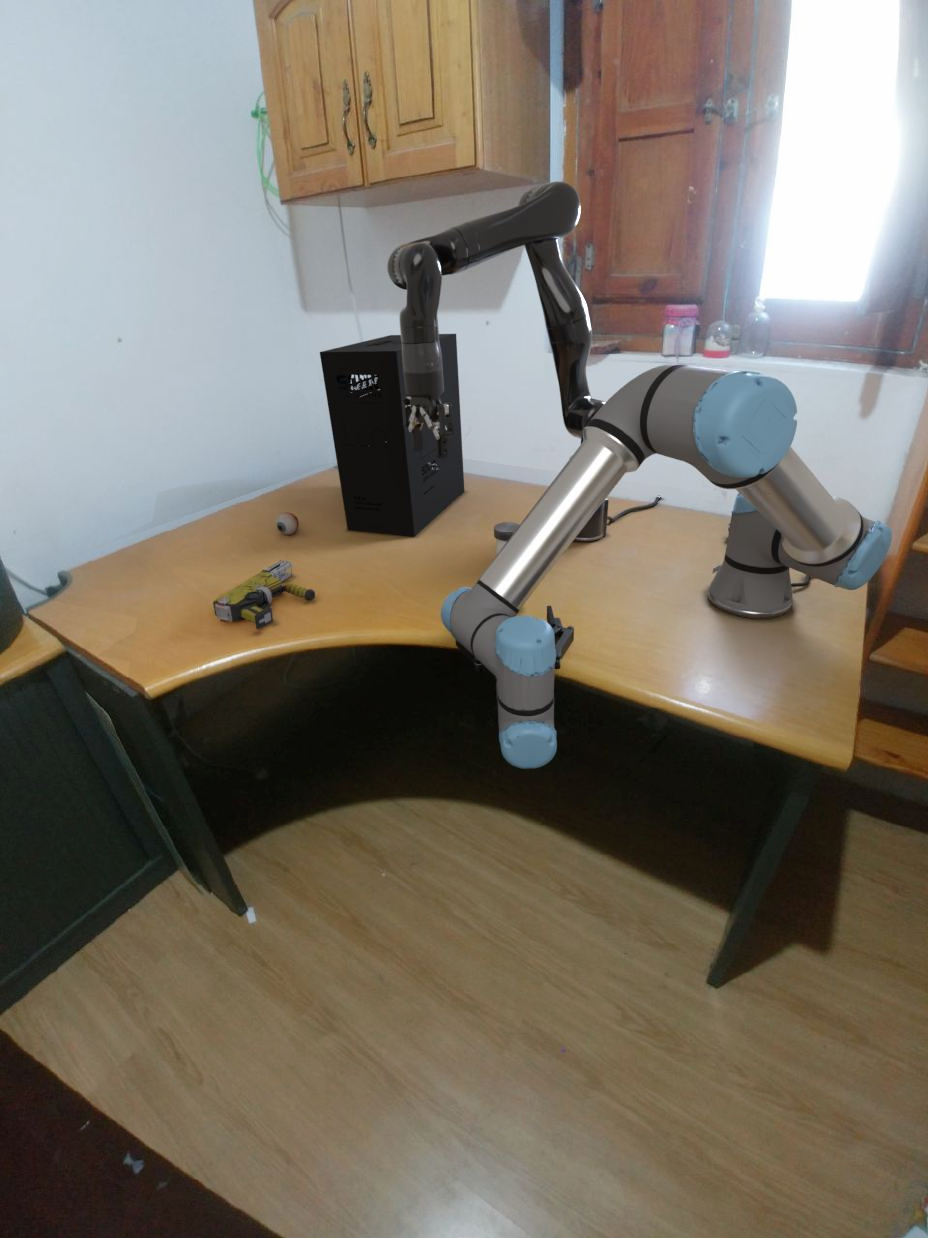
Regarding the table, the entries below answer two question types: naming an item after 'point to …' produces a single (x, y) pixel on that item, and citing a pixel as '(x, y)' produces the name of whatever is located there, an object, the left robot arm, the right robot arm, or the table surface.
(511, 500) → the table surface
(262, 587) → the toy gun
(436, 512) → the cardboard box
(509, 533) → the lid
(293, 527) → the eyeball
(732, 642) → the table surface
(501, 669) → the right robot arm
